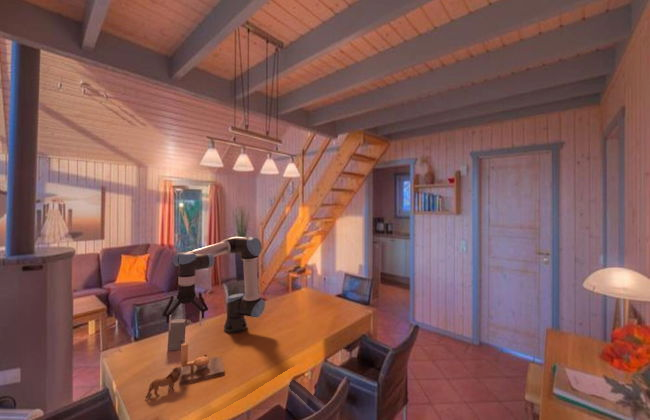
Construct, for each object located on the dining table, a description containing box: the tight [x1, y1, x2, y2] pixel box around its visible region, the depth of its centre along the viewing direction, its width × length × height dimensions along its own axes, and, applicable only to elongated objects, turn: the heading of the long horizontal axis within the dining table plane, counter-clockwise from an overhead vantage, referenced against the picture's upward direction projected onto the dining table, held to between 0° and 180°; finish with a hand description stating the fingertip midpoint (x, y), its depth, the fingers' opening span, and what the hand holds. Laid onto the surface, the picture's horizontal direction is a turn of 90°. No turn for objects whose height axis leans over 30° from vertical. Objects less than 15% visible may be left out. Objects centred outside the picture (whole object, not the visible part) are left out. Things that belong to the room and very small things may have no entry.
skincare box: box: [167, 318, 187, 352], centre depth 168 cm, size 8×7×16 cm
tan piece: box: [180, 342, 210, 367], centre depth 142 cm, size 13×7×11 cm, turn 118°
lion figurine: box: [145, 366, 181, 399], centre depth 127 cm, size 15×5×9 cm, turn 139°
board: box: [178, 353, 226, 386], centre depth 144 cm, size 20×16×6 cm
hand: (185, 327), depth 140 cm, fingers open, 13 cm apart
